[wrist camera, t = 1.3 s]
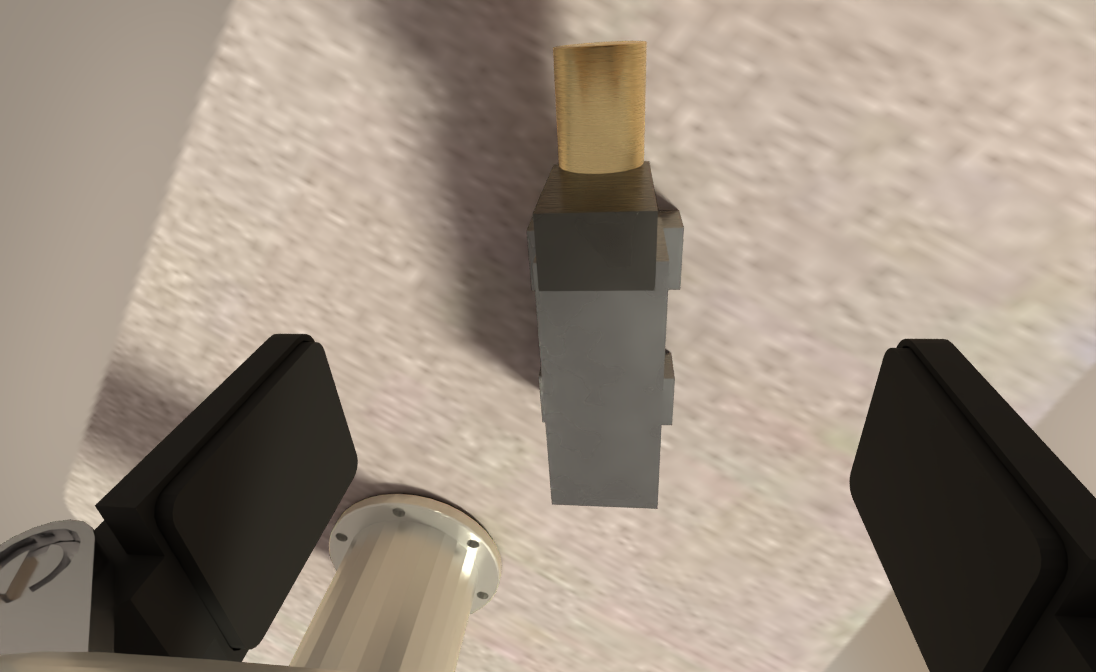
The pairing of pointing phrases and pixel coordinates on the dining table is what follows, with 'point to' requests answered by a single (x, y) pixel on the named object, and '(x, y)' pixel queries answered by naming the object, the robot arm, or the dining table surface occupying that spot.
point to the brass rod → (598, 175)
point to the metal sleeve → (607, 382)
